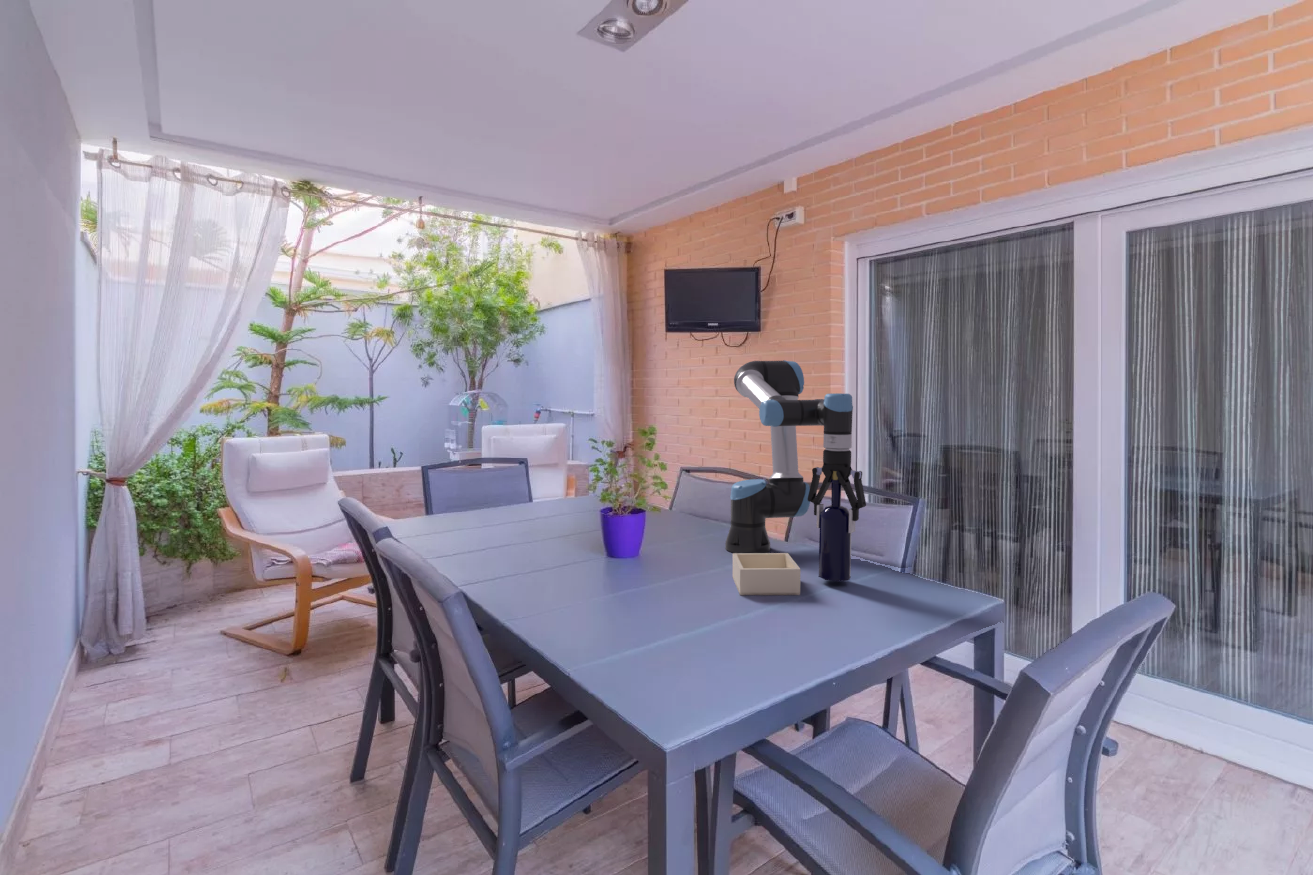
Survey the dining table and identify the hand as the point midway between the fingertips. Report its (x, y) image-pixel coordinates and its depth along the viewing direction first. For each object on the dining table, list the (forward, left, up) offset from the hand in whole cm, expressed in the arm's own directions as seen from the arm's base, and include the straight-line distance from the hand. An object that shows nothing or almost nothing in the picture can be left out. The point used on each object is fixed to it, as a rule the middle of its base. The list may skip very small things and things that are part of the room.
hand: (835, 529), depth 177 cm
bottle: (0, 0, -14) cm, 14 cm away
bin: (+2, -20, -15) cm, 25 cm away
